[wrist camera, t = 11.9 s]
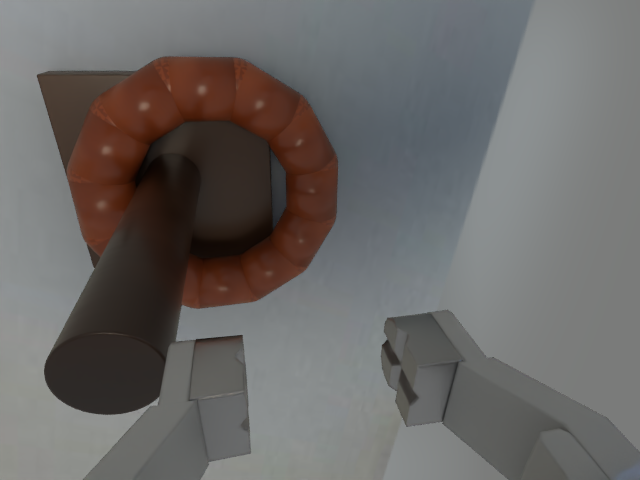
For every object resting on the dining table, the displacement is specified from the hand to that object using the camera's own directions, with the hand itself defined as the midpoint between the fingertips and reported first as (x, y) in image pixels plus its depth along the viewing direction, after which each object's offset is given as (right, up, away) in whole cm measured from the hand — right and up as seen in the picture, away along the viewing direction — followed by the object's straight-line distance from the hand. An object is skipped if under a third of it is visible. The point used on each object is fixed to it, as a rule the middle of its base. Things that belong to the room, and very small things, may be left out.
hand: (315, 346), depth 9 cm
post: (-7, +6, +10) cm, 14 cm away
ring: (-5, +4, +9) cm, 11 cm away
